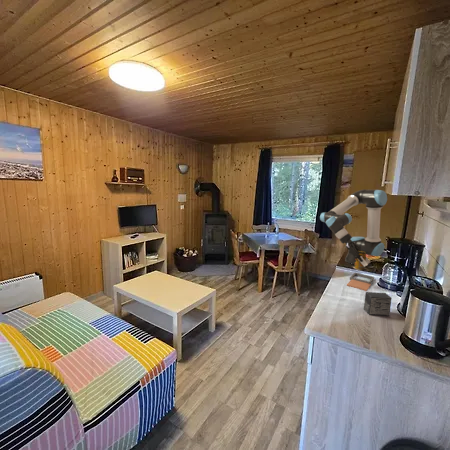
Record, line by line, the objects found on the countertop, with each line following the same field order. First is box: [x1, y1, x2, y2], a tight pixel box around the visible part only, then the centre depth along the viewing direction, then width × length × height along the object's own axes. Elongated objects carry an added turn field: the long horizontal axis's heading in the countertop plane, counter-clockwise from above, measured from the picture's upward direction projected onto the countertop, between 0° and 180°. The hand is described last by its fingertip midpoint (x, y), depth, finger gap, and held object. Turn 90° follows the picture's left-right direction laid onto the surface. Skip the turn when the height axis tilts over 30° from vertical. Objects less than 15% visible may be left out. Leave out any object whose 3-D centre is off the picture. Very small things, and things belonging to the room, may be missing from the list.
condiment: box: [352, 251, 370, 271], centre depth 159 cm, size 7×8×12 cm
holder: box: [349, 272, 375, 285], centre depth 172 cm, size 13×13×2 cm
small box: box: [363, 291, 393, 317], centre depth 127 cm, size 11×6×10 cm, turn 84°
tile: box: [346, 279, 372, 292], centre depth 162 cm, size 12×12×1 cm
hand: (367, 264), depth 156 cm, fingers closed on condiment, 6 cm apart
